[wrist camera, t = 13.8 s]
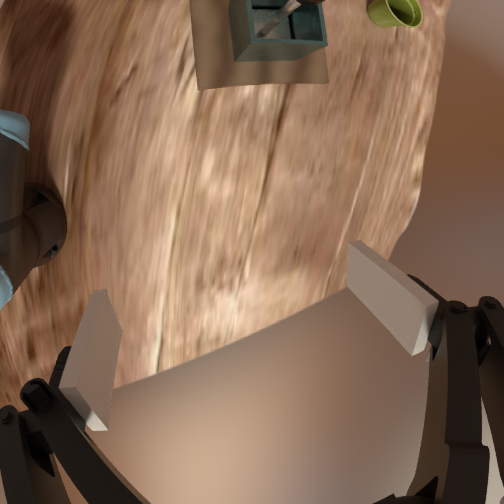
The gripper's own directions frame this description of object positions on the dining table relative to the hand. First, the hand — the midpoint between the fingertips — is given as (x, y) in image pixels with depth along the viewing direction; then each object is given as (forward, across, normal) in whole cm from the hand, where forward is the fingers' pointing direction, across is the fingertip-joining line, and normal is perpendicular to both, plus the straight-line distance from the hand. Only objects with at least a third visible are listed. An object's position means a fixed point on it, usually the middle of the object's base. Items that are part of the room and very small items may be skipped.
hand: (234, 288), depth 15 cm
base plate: (+37, +13, +23) cm, 45 cm away
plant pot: (+37, +39, +31) cm, 62 cm away
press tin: (+35, +13, +23) cm, 44 cm away
